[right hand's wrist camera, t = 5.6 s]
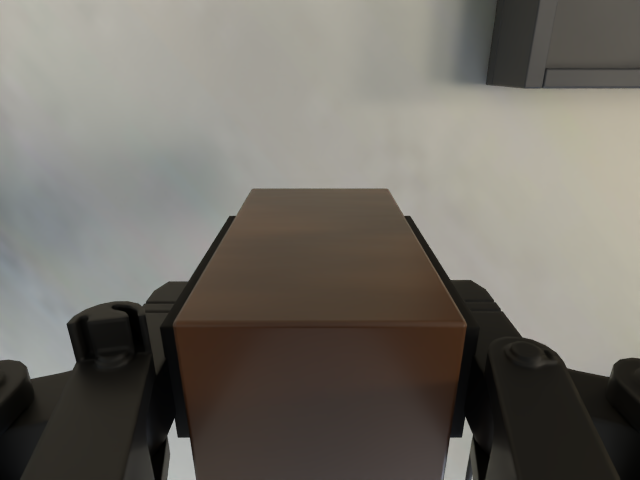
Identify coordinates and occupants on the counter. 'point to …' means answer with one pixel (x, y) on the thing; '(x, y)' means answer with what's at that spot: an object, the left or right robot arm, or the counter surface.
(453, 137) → the counter surface
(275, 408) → the block
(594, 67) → the tray
